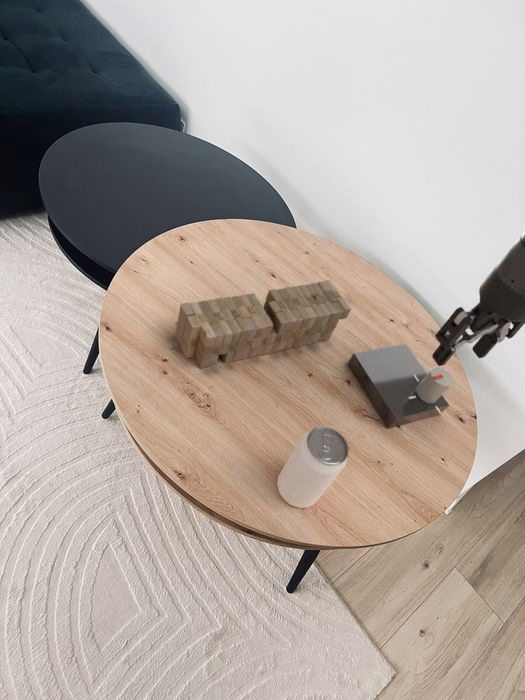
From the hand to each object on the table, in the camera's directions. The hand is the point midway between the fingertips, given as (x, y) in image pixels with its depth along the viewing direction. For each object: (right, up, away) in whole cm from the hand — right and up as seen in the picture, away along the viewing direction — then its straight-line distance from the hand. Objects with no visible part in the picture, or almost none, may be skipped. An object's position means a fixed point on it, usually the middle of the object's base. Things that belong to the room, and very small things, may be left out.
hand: (457, 357), depth 81 cm
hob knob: (-1, -6, +10) cm, 12 cm away
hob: (-6, -6, +13) cm, 16 cm away
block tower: (-30, +3, +13) cm, 33 cm away
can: (-25, -19, -5) cm, 31 cm away
